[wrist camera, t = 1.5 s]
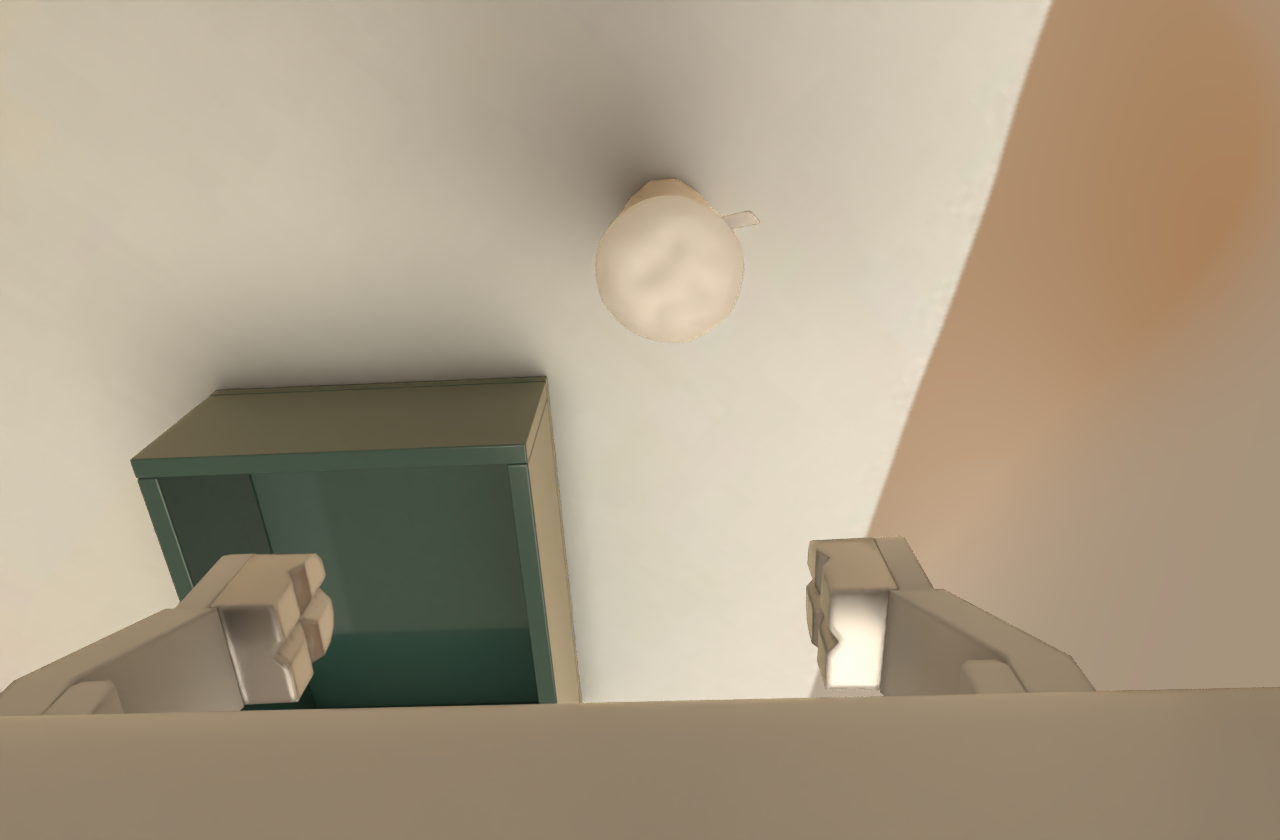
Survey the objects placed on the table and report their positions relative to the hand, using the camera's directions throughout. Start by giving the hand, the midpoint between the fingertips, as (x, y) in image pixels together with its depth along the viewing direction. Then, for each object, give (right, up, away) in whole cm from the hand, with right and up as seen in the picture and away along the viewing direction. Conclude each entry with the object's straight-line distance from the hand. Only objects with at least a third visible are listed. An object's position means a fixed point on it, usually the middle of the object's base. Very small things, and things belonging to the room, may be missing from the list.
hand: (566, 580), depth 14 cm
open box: (-10, -4, +26) cm, 28 cm away
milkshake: (+3, +11, +19) cm, 22 cm away
